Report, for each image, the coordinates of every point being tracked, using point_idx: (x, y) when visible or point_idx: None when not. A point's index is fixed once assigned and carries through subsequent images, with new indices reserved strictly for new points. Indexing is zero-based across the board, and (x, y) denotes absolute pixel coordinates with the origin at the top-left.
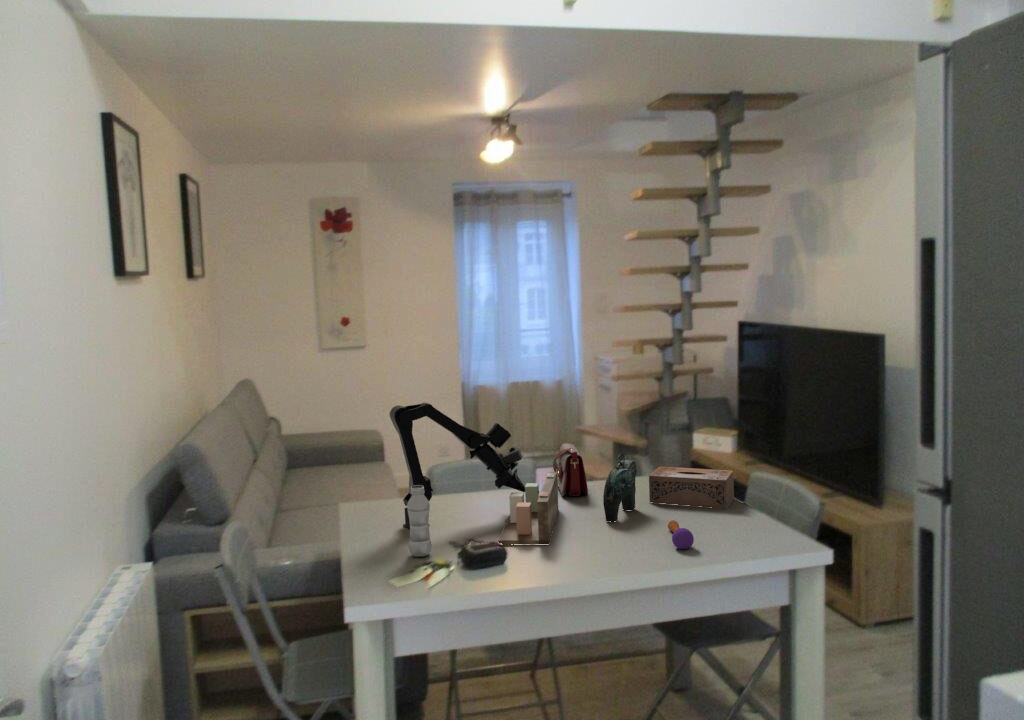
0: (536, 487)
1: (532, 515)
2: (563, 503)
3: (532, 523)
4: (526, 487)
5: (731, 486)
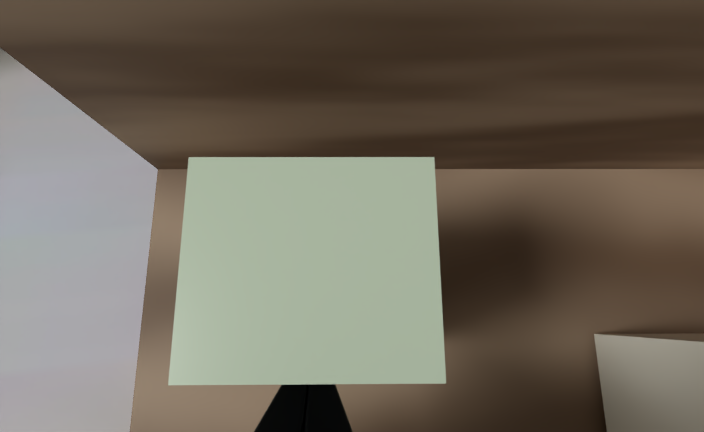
0: (429, 175)
1: (465, 280)
2: (11, 94)
3: (690, 255)
4: (440, 353)
5: None
